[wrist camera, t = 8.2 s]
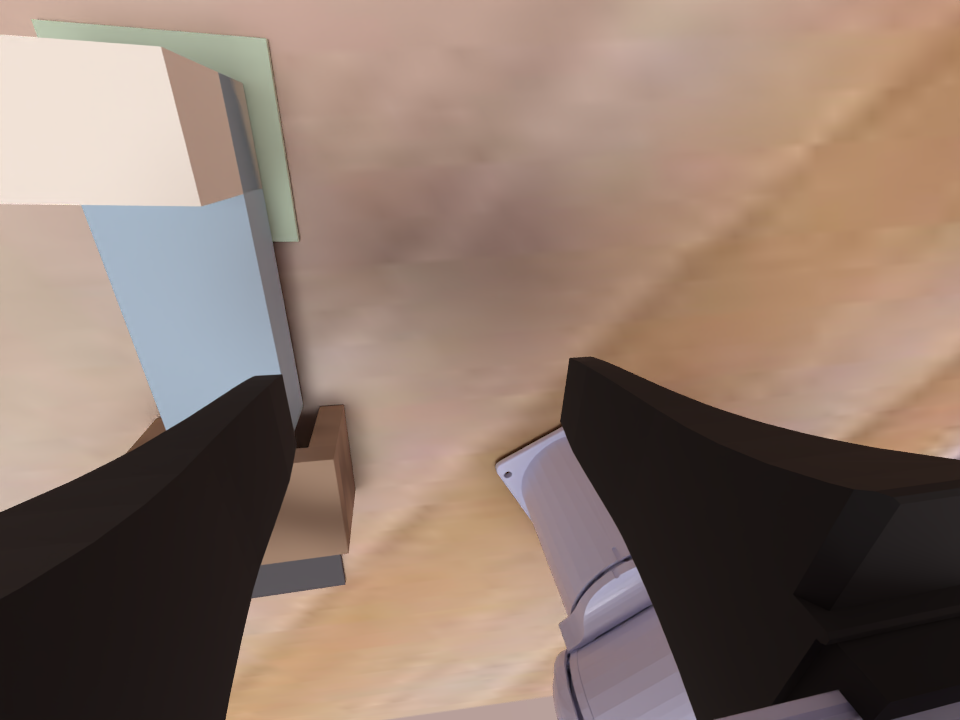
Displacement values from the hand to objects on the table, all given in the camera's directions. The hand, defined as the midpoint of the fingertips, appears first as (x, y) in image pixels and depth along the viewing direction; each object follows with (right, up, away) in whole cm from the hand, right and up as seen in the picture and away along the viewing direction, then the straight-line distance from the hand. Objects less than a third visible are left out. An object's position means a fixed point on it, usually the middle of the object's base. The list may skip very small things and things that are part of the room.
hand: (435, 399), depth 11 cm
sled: (-10, +5, +7) cm, 13 cm away
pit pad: (-11, -11, +15) cm, 22 cm away
